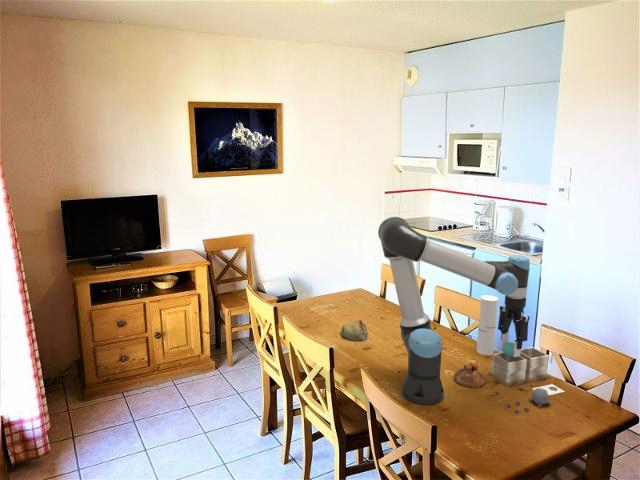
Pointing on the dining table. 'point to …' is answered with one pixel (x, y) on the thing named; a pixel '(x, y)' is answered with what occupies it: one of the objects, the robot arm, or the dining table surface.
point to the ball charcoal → (540, 396)
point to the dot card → (550, 389)
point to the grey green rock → (355, 331)
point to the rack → (520, 367)
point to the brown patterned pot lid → (469, 376)
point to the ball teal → (509, 349)
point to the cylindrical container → (487, 325)
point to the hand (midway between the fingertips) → (510, 352)
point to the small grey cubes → (526, 407)
